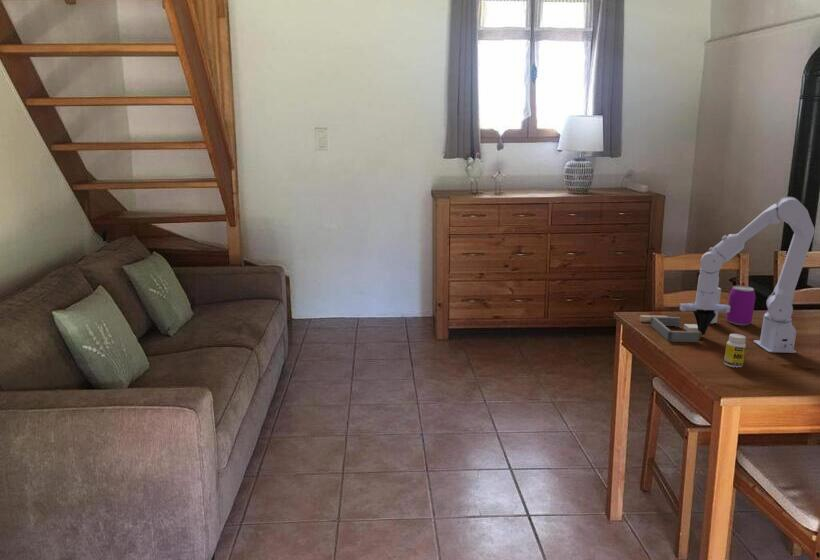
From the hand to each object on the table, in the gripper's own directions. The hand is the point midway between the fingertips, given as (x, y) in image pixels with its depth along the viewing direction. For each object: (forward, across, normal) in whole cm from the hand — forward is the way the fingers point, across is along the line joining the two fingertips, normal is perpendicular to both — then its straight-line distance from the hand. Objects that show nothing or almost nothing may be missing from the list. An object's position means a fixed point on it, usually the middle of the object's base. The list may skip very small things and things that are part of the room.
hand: (701, 333), depth 200 cm
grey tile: (+1, +1, -6) cm, 6 cm away
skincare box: (+1, -9, -17) cm, 19 cm away
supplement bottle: (+1, +1, +24) cm, 24 cm away
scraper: (+1, +8, -15) cm, 17 cm away
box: (+1, +8, -2) cm, 8 cm away
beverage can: (+1, -19, -16) cm, 25 cm away
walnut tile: (+1, +3, 0) cm, 3 cm away
